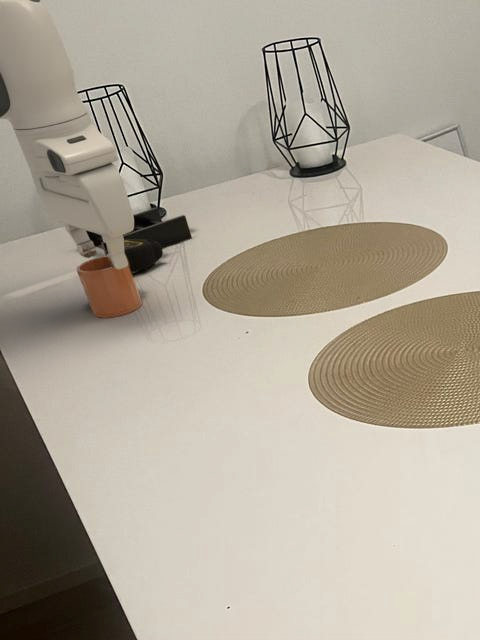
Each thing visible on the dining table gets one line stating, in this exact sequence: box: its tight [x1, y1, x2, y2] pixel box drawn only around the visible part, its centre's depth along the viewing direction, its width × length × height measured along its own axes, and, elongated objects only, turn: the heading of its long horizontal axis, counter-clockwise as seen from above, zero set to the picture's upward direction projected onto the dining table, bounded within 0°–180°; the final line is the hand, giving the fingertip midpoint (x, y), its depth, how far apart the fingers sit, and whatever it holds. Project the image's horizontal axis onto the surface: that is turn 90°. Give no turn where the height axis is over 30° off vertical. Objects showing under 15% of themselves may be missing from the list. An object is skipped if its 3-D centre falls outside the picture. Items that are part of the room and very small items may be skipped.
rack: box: [86, 207, 193, 256], centre depth 149 cm, size 14×10×3 cm
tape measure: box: [106, 239, 164, 274], centre depth 140 cm, size 7×7×4 cm
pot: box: [76, 255, 143, 319], centre depth 126 cm, size 6×6×6 cm
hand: (104, 261), depth 125 cm, fingers open, 8 cm apart
